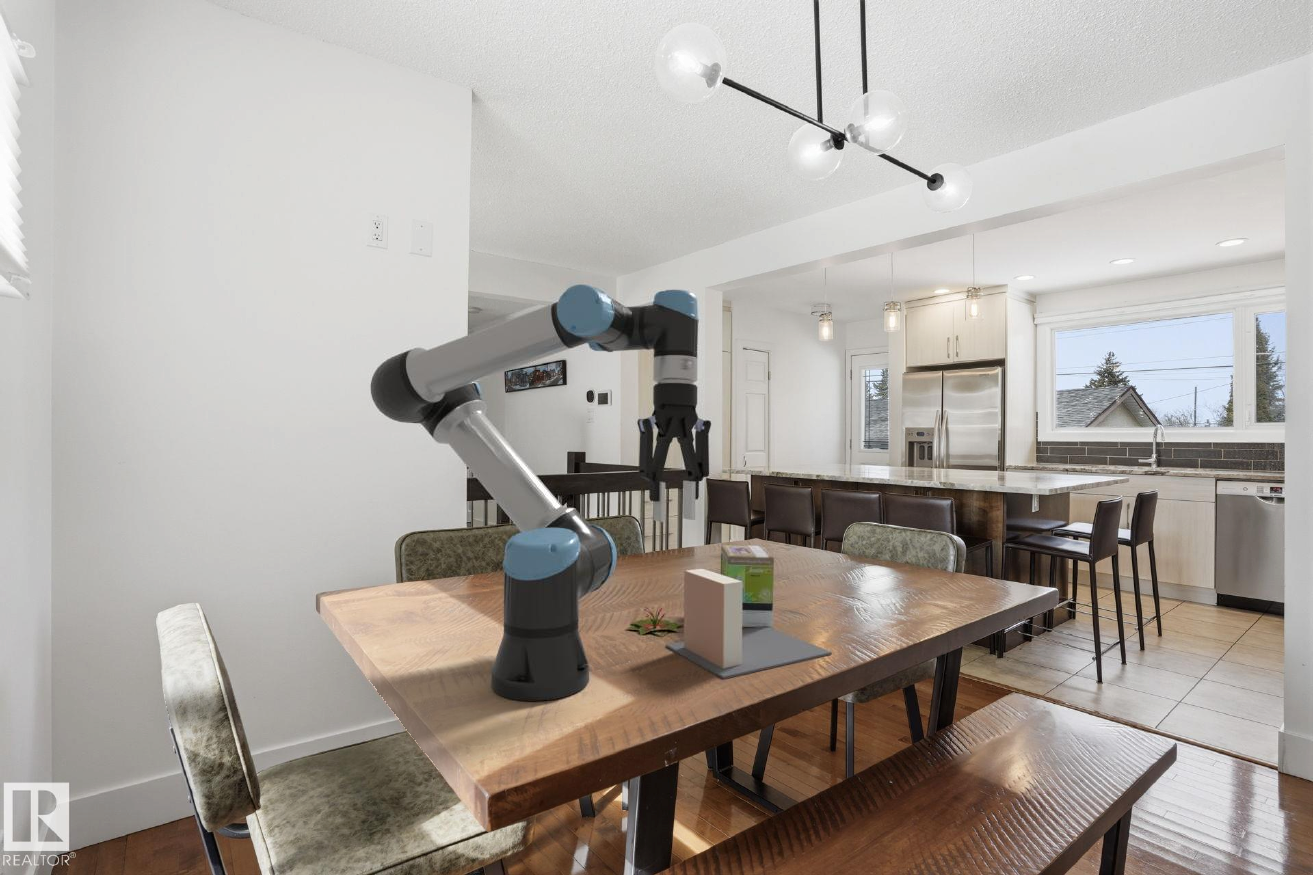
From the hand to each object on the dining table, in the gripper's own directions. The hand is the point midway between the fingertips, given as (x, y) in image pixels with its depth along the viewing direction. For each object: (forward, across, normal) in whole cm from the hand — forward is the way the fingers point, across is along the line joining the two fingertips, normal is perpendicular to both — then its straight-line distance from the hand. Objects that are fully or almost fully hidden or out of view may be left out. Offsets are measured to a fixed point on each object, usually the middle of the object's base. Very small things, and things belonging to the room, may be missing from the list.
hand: (674, 519), depth 106 cm
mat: (+25, +16, 0) cm, 30 cm away
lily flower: (+25, +8, +20) cm, 33 cm away
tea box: (+25, +29, +17) cm, 42 cm away
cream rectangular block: (+24, +8, 0) cm, 26 cm away
